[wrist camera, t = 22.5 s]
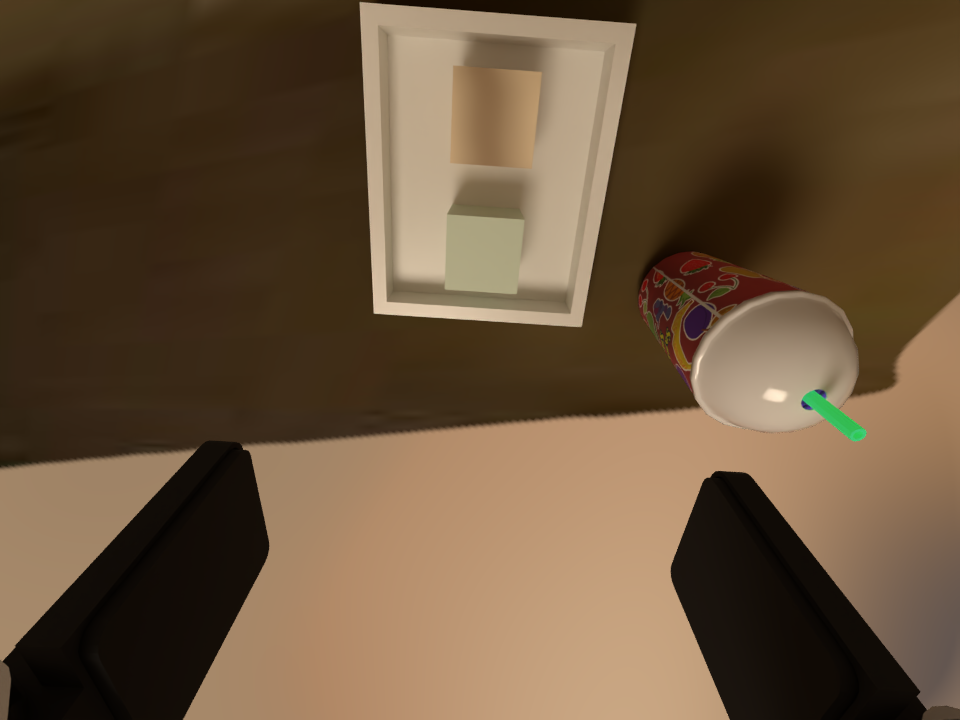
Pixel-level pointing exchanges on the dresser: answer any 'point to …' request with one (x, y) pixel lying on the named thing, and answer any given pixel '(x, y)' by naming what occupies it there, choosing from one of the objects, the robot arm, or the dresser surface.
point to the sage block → (483, 248)
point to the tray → (438, 183)
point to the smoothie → (752, 345)
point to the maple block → (494, 116)
